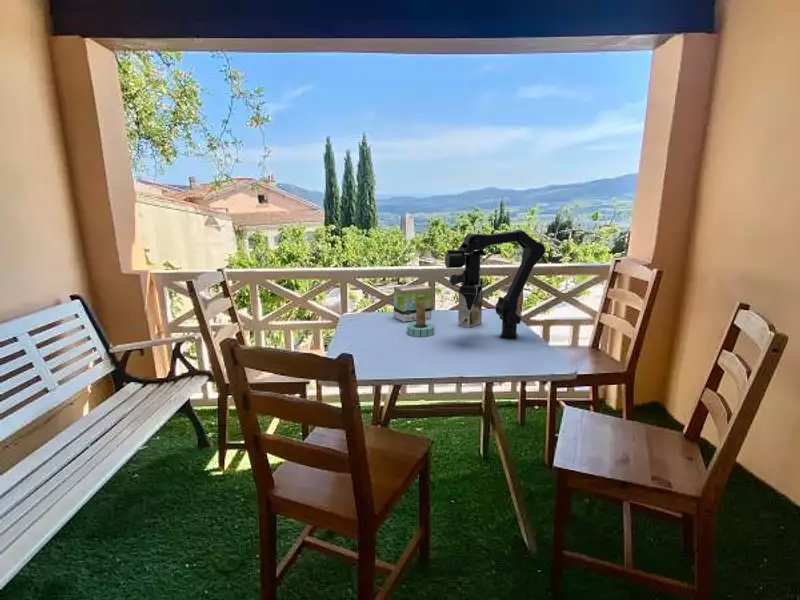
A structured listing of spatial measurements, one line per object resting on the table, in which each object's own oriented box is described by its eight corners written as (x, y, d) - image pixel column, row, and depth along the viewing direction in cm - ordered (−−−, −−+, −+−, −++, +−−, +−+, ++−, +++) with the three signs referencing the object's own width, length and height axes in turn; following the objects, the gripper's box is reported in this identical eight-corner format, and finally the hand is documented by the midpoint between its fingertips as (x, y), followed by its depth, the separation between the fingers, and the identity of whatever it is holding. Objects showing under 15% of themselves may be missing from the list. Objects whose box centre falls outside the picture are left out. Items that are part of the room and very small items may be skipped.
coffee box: (469, 321, 205) (470, 285, 202) (481, 323, 201) (483, 287, 197) (457, 325, 199) (458, 289, 195) (469, 328, 195) (470, 291, 191)
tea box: (403, 323, 203) (403, 290, 200) (393, 317, 212) (392, 286, 209) (432, 318, 210) (432, 287, 207) (421, 313, 219) (421, 283, 216)
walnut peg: (420, 331, 191) (420, 300, 188) (427, 332, 189) (427, 302, 186) (414, 332, 189) (414, 302, 186) (421, 334, 186) (421, 303, 183)
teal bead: (412, 328, 196) (412, 321, 195) (437, 330, 192) (437, 323, 191) (403, 335, 185) (403, 328, 185) (430, 338, 182) (430, 330, 181)
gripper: (456, 262, 185) (455, 300, 188) (446, 270, 168) (445, 311, 171) (484, 263, 181) (483, 302, 185) (476, 271, 164) (475, 313, 168)
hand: (471, 307), depth 177 cm, fingers open, 9 cm apart
